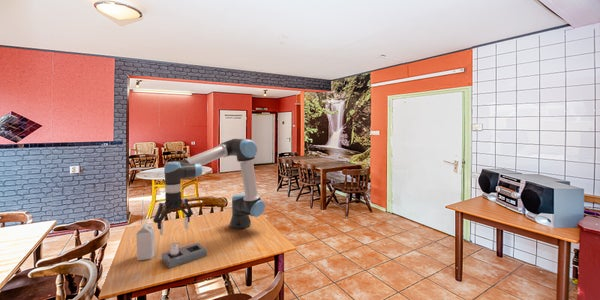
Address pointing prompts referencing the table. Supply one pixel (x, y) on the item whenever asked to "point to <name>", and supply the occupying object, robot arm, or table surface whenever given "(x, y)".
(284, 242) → the table surface
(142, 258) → the milk carton
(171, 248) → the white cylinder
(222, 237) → the table surface
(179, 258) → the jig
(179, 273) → the table surface
